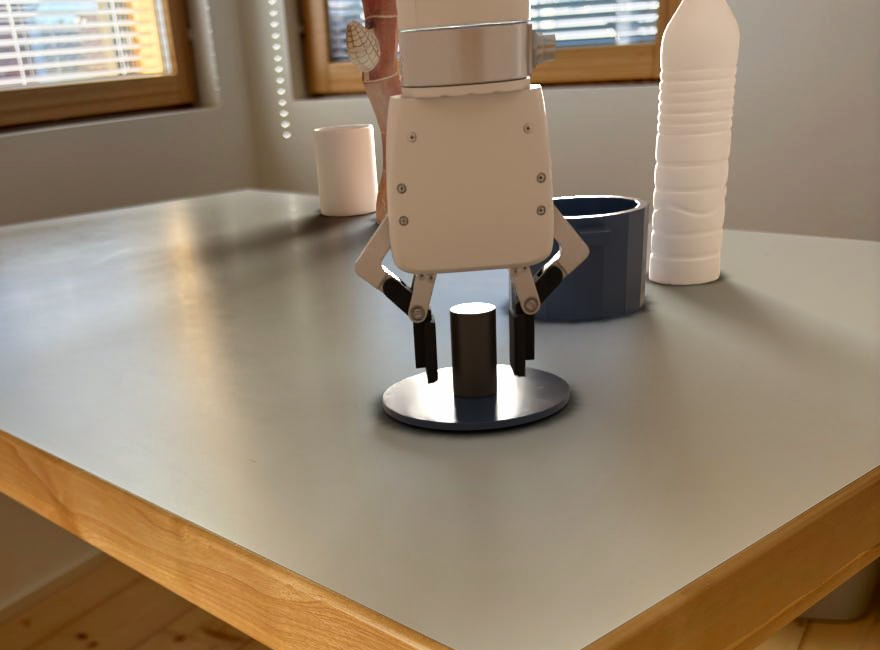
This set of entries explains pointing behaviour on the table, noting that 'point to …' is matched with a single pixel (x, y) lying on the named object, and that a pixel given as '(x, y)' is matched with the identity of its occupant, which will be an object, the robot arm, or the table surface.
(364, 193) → the mug
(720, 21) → the water bottle
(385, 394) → the lid
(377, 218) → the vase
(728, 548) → the table surface
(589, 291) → the pot
